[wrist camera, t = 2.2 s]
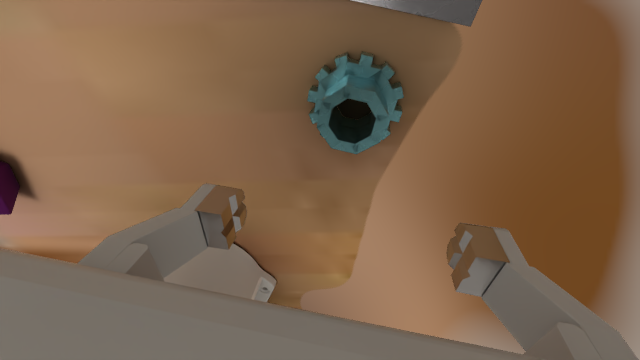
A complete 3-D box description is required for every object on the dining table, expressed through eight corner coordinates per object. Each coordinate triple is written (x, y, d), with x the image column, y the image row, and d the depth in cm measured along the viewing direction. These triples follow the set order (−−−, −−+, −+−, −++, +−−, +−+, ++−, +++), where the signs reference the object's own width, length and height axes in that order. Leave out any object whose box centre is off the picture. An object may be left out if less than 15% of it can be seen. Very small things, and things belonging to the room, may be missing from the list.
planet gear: (384, 149, 25) (387, 178, 21) (305, 131, 25) (292, 156, 21) (416, 63, 21) (427, 78, 17) (319, 41, 21) (306, 51, 17)
